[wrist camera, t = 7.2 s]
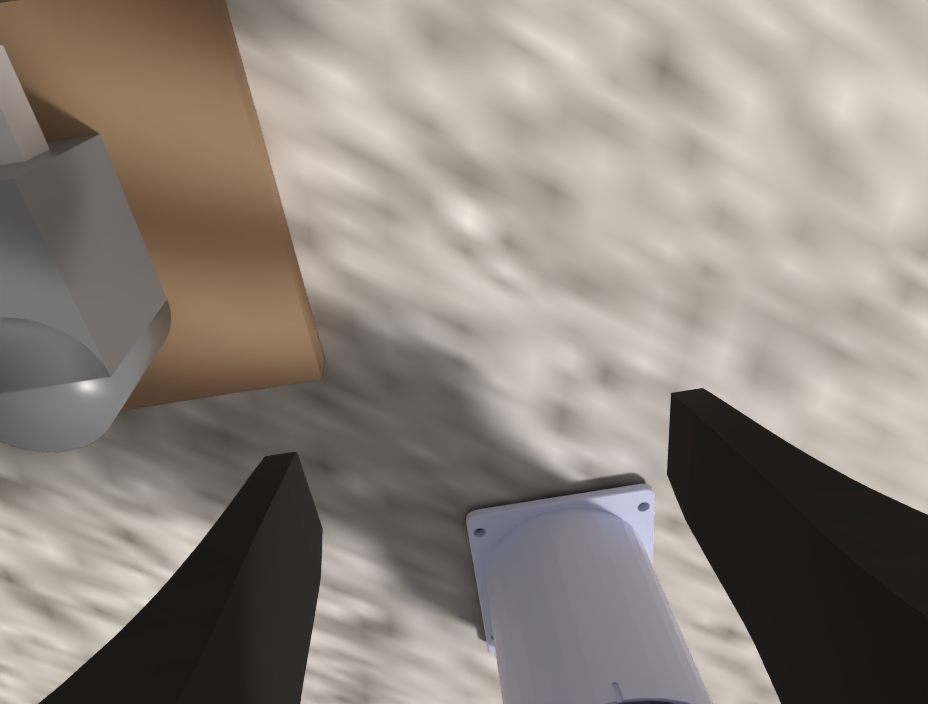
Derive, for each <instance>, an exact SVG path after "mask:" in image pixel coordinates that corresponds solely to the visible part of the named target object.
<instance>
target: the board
mask: <svg viewBox="0 0 928 704" xmlns="http://www.w3.org/2000/svg"><path fill="white" fill-rule="evenodd" d="M0 45H3V46H4V49H5V51H6V53H7V55H8V57H9V60H10V62H11V64H12V66H13V69H14V71H15V73H16V75H17V77H18V80H19V82H20V84H21V86H22V89H23V91H24V93H25V95H26V97H27V100H28V102H29V104H30V106H31V109H32V111H33V113H34V115H35V117H36V120H37V122H38V124H39V126H40V129H41V131H42V133H43V135H44V137H45V140H46V142H50V141H57V140H63V139H70V138H77V137H83V136H90V135H97V134H100V135H101V138H102V140H103V142H104V145H105V147H106V150H107V152H108V155H109V157H110V160H111V162H112V165H113V167H114V170H115V172H116V175H117V177H118V179H119V182H120V184H121V187H122V189H123V192H124V194H125V197H126V199H127V202H128V204H129V207H130V209H131V212H132V214H133V216H134V219H135V221H136V224H137V226H138V229H139V231H140V234H141V236H142V239H143V241H144V244H145V246H146V249H147V251H148V253H149V256H150V258H151V261H152V263H153V266H154V268H155V271H156V273H157V276H158V278H159V281H160V283H161V286H162V288H163V290H164V293H165V295H166V298H167V301H168V304H169V307H170V312H171V326H170V331H169V334H168V336H167V338H166V340H165V342H164V344H163V345H162V347H161V348H160V350H159V351H158V353H157V354H156V356H155V358H154V359H153V361H152V362H151V364H150V365H149V367H148V368H147V370H146V372H145V373H144V375H143V376H142V378H141V379H140V381H139V382H138V384H137V385H136V387H135V389H134V390H133V392H132V393H131V395H130V396H129V398H128V399H127V401H126V402H125V404H124V406H123V407H122V409H121V410H127V409H134V408H140V407H147V406H153V405H160V404H166V403H173V402H179V401H186V400H192V399H199V398H205V397H212V396H218V395H225V394H231V393H237V392H244V391H250V390H257V389H263V388H270V387H276V386H283V385H289V384H296V383H302V382H309V381H315V380H322V376H323V371H324V366H325V359H324V355H323V351H322V348H321V344H320V341H319V337H318V333H317V330H316V326H315V323H314V319H313V315H312V312H311V308H310V305H309V301H308V297H307V294H306V290H305V287H304V283H303V279H302V276H301V272H300V269H299V265H298V261H297V258H296V254H295V251H294V247H293V243H292V240H291V236H290V233H289V229H288V225H287V222H286V218H285V215H284V211H283V207H282V204H281V200H280V197H279V193H278V189H277V186H276V182H275V179H274V175H273V171H272V168H271V164H270V161H269V157H268V153H267V150H266V146H265V143H264V139H263V135H262V132H261V128H260V125H259V121H258V117H257V114H256V110H255V107H254V103H253V99H252V96H251V92H250V89H249V85H248V81H247V78H246V74H245V71H244V67H243V63H242V60H241V56H240V53H239V49H238V45H237V42H236V38H235V35H234V31H233V27H232V24H231V20H230V17H229V13H228V9H227V6H226V2H225V0H16V1H9V2H2V3H0ZM121 410H120V411H121Z"/></svg>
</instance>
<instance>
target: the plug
mask: <svg viewBox="0 0 928 704" xmlns="http://www.w3.org/2000/svg"><path fill="white" fill-rule="evenodd" d="M170 326H171V312H170V307H169V304H168V301H167V298H166V295H165V293H164V290H163V288H162V286H161V283H160V281H159V278H158V276H157V273H156V271H155V268H154V266H153V263H152V261H151V258H150V256H149V253H148V251H147V249H146V246H145V244H144V241H143V239H142V236H141V234H140V231H139V229H138V226H137V224H136V221H135V219H134V216H133V214H132V212H131V209H130V207H129V204H128V202H127V199H126V197H125V194H124V192H123V189H122V187H121V184H120V182H119V179H118V177H117V175H116V172H115V170H114V167H113V165H112V162H111V160H110V157H109V155H108V152H107V150H106V147H105V145H104V142H103V140H102V138H101V135H100V134H97V135H90V136H83V137H77V138H70V139H63V140H57V141H50V142H46V140H45V137H44V135H43V133H42V131H41V129H40V126H39V124H38V122H37V120H36V117H35V115H34V113H33V111H32V109H31V106H30V104H29V102H28V100H27V97H26V95H25V93H24V91H23V89H22V86H21V84H20V82H19V80H18V77H17V75H16V73H15V71H14V69H13V66H12V64H11V62H10V60H9V57H8V55H7V53H6V51H5V49H4V46H3V45H0V441H1V442H3V443H6V444H8V445H11V446H14V447H18V448H21V449H25V450H31V451H37V452H64V451H70V450H75V449H78V448H81V447H84V446H86V445H88V444H90V443H92V442H94V441H96V440H97V439H98V438H100V437H101V436H102V435H103V434H104V433H105V432H106V431H107V430H108V428H109V427H110V426H111V424H112V423H113V421H114V420H115V418H116V416H117V415H118V413H119V412H120V410H121V409H122V407H123V406H124V404H125V402H126V401H127V399H128V398H129V396H130V395H131V393H132V392H133V390H134V389H135V387H136V385H137V384H138V382H139V381H140V379H141V378H142V376H143V375H144V373H145V372H146V370H147V368H148V367H149V365H150V364H151V362H152V361H153V359H154V358H155V356H156V354H157V353H158V351H159V350H160V348H161V347H162V345H163V344H164V342H165V340H166V338H167V336H168V334H169V331H170Z"/></svg>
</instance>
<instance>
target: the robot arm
mask: <svg viewBox="0 0 928 704" xmlns="http://www.w3.org/2000/svg"><path fill="white" fill-rule="evenodd" d="M667 475H668V478H669V481H670V483H671V486H672V488H673V491H674V493H675V496H676V498H677V501H678V503H679V506H680V508H681V510H682V513H683V515H684V517H685V520H686V522H687V524H688V525H689V527H690V529H691V531H692V533H693V534H694V536H695V538H696V540H697V542H698V543H699V545H700V547H701V549H702V551H703V552H704V554H705V556H706V558H707V559H708V561H709V563H710V565H711V566H712V568H713V570H714V572H715V573H716V575H717V577H718V579H719V580H720V582H721V584H722V586H723V587H724V589H725V591H726V593H727V594H728V596H729V598H730V600H731V601H732V603H733V605H734V607H735V608H736V610H737V612H738V614H739V615H740V617H741V619H742V621H743V622H744V624H745V626H746V628H747V630H748V632H749V634H750V636H751V638H752V640H753V642H754V644H755V646H756V648H757V650H758V652H759V655H760V657H761V659H762V661H763V664H764V666H765V668H766V670H767V673H768V675H769V677H770V679H771V682H772V684H773V686H774V688H775V691H776V693H777V695H778V697H779V700H780V702H781V704H928V515H927V514H925V513H922V512H920V511H918V510H915V509H913V508H911V507H909V506H907V505H905V504H902V503H900V502H898V501H896V500H894V499H892V498H890V497H888V496H885V495H883V494H881V493H879V492H877V491H875V490H873V489H871V488H869V487H867V486H865V485H863V484H861V483H859V482H857V481H855V480H853V479H851V478H849V477H847V476H846V475H844V474H842V473H840V472H838V471H836V470H835V469H833V468H831V467H829V466H827V465H826V464H824V463H822V462H820V461H818V460H817V459H815V458H813V457H811V456H810V455H808V454H806V453H805V452H803V451H801V450H800V449H798V448H796V447H795V446H793V445H791V444H790V443H788V442H786V441H785V440H783V439H782V438H780V437H778V436H777V435H775V434H773V433H772V432H770V431H769V430H767V429H766V428H764V427H762V426H761V425H759V424H758V423H756V422H755V421H753V420H752V419H750V418H749V417H747V416H746V415H744V414H742V413H741V412H739V411H738V410H736V409H735V408H733V407H732V406H730V405H729V404H727V403H726V402H724V401H723V400H721V399H719V398H718V397H716V396H715V395H713V394H712V393H710V392H708V391H707V390H705V389H703V388H700V389H694V390H687V391H681V392H675V393H671V407H670V426H669V445H668V465H667ZM643 502H645V503H644V504H642V505H639V504H640V503H643ZM654 512H655V493H654V491H653V489H652V487H651V486H650V485H648V484H636V485H630V486H624V487H617V488H611V489H605V490H598V491H592V492H586V493H579V494H573V495H567V496H560V497H554V498H548V499H541V500H535V501H529V502H522V503H516V504H510V505H503V506H497V507H490V508H484V509H478V510H474V511H471V512H470V513H469V514H468V515H467V517H466V524H467V530H468V536H469V542H470V548H471V554H472V559H473V565H474V571H475V577H476V583H477V589H478V594H479V600H480V606H481V612H482V618H483V624H484V630H485V635H486V641H487V647H488V651H489V653H490V654H492V655H495V656H496V658H497V665H498V672H499V679H500V686H501V692H502V699H503V704H712V701H711V699H710V697H709V694H708V692H707V690H706V687H705V685H704V683H703V681H702V678H701V676H700V674H699V671H698V669H697V667H696V664H695V662H694V660H693V658H692V655H691V653H690V651H689V648H688V646H687V644H686V641H685V639H684V637H683V635H682V632H681V630H680V628H679V625H678V623H677V621H676V619H675V616H674V614H673V612H672V609H671V607H670V605H669V602H668V600H667V598H666V596H665V593H664V591H663V589H662V586H661V584H660V582H659V579H658V577H657V575H656V573H655V570H654V568H653V539H654ZM479 528H483V529H482V530H476V529H479ZM321 561H322V526H321V523H320V520H319V517H318V514H317V511H316V508H315V505H314V502H313V499H312V496H311V493H310V490H309V487H308V484H307V481H306V478H305V475H304V472H303V469H302V466H301V463H300V460H299V457H298V454H297V452H291V453H284V454H278V455H272V456H265V457H264V458H263V460H262V461H261V462H260V464H259V465H258V466H257V468H256V469H255V470H254V471H253V473H252V474H251V476H250V477H249V478H248V480H247V481H246V482H245V484H244V485H243V487H242V488H241V489H240V491H239V492H238V493H237V495H236V496H235V497H234V499H233V500H232V502H231V503H230V504H229V506H228V507H227V508H226V510H225V511H224V512H223V514H222V515H221V516H220V518H219V519H218V520H217V522H216V523H215V524H214V525H213V527H212V528H211V529H210V531H209V532H208V533H207V535H206V536H205V537H204V538H203V540H202V541H201V542H200V544H199V545H198V546H197V547H196V548H195V550H194V551H193V552H192V553H191V554H190V556H189V557H188V558H187V559H186V560H185V562H184V563H183V564H182V565H181V566H180V568H179V569H178V570H177V571H176V572H175V573H174V575H173V576H172V577H171V578H170V579H169V581H168V582H167V583H166V584H165V585H164V586H163V587H162V588H161V590H160V591H159V592H158V593H157V594H156V595H155V596H154V597H153V598H152V599H151V600H150V601H149V602H148V603H147V605H146V606H145V607H144V608H143V609H142V610H141V611H140V612H139V613H138V614H137V615H136V616H135V617H134V618H133V619H132V620H131V621H130V622H129V623H128V624H127V625H126V626H125V627H124V628H123V629H122V630H121V631H120V632H119V633H118V634H117V635H116V636H115V637H114V638H113V639H111V640H110V641H109V642H108V643H107V644H106V645H105V646H104V647H103V648H102V649H100V650H99V651H98V652H97V653H96V654H95V655H94V656H93V657H92V658H90V659H89V660H88V661H87V662H86V663H85V664H84V665H83V666H82V667H80V668H79V669H78V670H77V671H76V672H75V673H74V674H73V675H72V676H70V677H69V678H68V679H67V680H66V681H65V682H64V683H63V684H61V685H60V686H59V687H58V688H57V689H56V690H54V691H53V692H52V693H51V694H49V695H48V696H47V697H46V698H45V699H43V700H42V701H41V702H40V703H39V704H300V701H301V694H302V688H303V682H304V676H305V670H306V664H307V658H308V652H309V646H310V640H311V634H312V629H313V623H314V617H315V611H316V604H317V598H318V592H319V586H320V579H321Z"/></svg>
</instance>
